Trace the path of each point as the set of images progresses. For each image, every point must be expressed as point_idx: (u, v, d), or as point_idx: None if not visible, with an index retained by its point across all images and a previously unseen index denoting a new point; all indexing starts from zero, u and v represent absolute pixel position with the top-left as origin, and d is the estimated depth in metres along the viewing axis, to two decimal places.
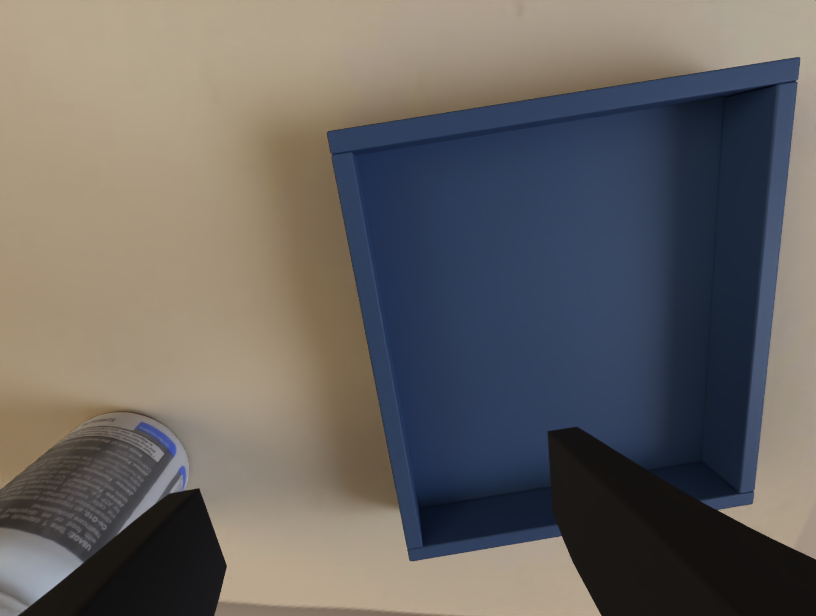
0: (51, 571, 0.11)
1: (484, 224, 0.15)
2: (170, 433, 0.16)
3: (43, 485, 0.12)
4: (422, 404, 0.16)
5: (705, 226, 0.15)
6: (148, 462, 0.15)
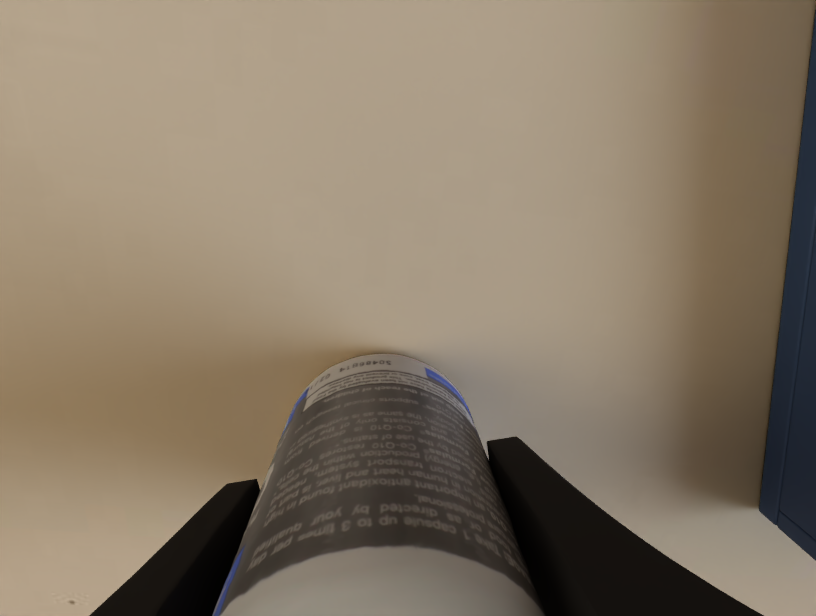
0: None
1: None
2: (456, 388, 0.10)
3: (395, 459, 0.06)
4: None
5: None
6: (472, 428, 0.09)
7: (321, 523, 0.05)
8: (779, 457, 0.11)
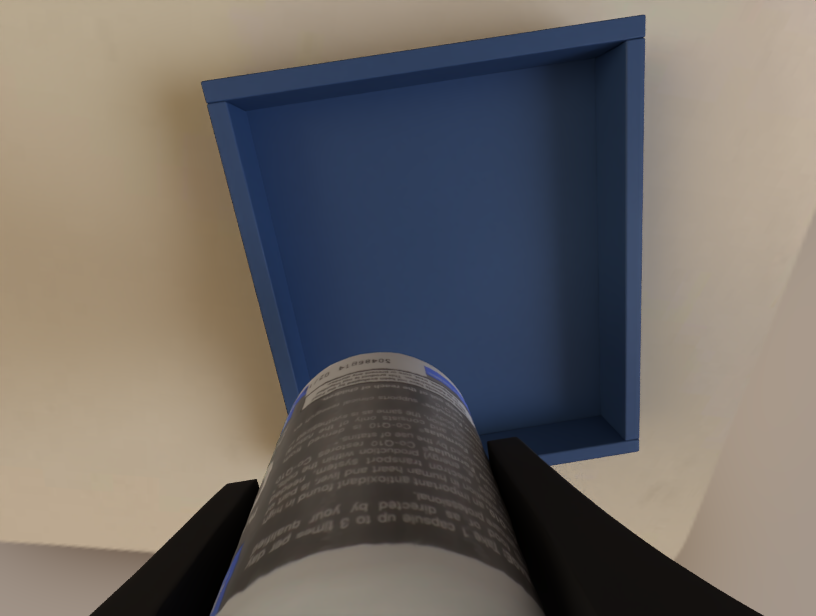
0: None
1: (374, 179, 0.15)
2: (455, 387, 0.10)
3: (394, 458, 0.06)
4: (326, 356, 0.17)
5: (586, 183, 0.16)
6: (471, 426, 0.09)
7: (319, 520, 0.05)
8: None
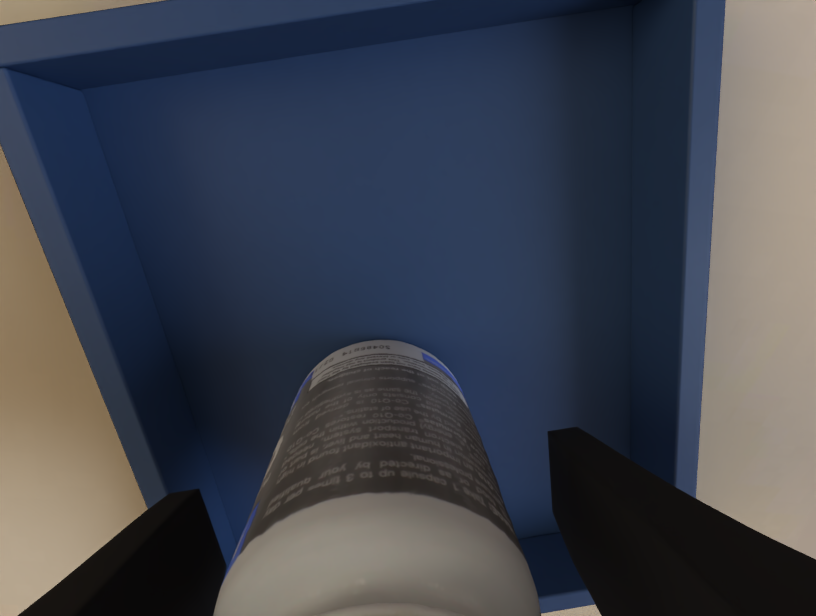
0: (512, 577, 0.05)
1: (292, 196, 0.10)
2: None
3: (394, 427, 0.07)
4: (236, 448, 0.12)
5: (616, 201, 0.10)
6: (464, 406, 0.10)
7: (328, 476, 0.06)
8: None
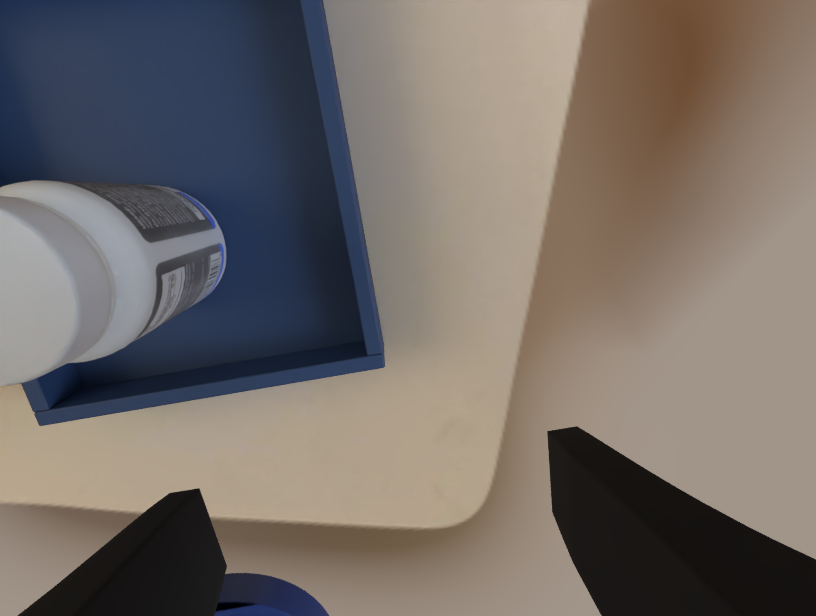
0: (110, 221, 0.10)
1: (85, 81, 0.15)
2: (209, 211, 0.16)
3: (93, 183, 0.12)
4: None
5: (311, 89, 0.16)
6: (191, 214, 0.14)
7: None
8: None
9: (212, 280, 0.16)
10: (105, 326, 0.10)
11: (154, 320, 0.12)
